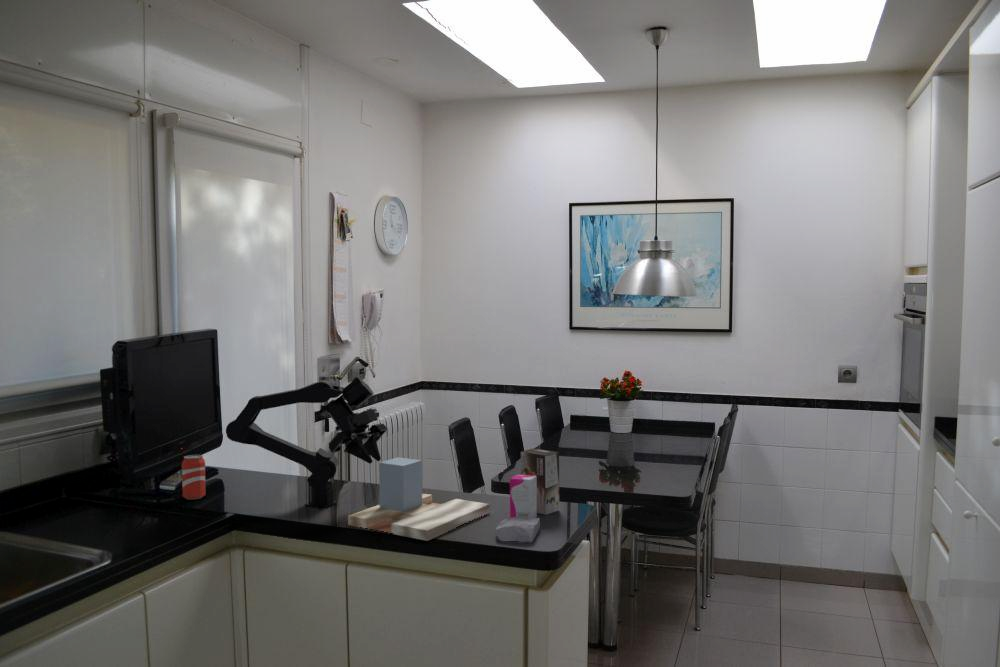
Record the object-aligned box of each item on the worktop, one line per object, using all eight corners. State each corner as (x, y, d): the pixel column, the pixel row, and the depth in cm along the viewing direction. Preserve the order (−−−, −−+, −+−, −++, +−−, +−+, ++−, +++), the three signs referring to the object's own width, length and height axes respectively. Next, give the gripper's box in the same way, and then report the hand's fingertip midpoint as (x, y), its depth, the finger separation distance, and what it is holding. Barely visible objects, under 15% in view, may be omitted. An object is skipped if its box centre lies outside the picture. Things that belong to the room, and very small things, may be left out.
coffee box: (560, 510, 217) (560, 452, 216) (545, 515, 213) (545, 455, 212) (534, 504, 224) (535, 447, 223) (519, 509, 219) (519, 451, 218)
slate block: (379, 507, 211) (379, 462, 210) (398, 500, 218) (398, 457, 217) (403, 511, 207) (403, 465, 206) (422, 504, 214) (421, 460, 213)
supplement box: (537, 518, 210) (537, 475, 209) (530, 524, 204) (530, 480, 204) (516, 516, 212) (516, 473, 211) (509, 522, 206) (509, 478, 206)
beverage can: (197, 493, 236) (196, 453, 235) (210, 497, 232) (209, 456, 231) (178, 498, 231) (177, 456, 230) (191, 501, 227) (190, 459, 226)
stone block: (494, 549, 191) (535, 543, 189) (491, 529, 191) (531, 523, 189) (504, 536, 202) (543, 530, 200) (501, 517, 202) (539, 511, 200)
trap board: (348, 525, 204) (348, 515, 204) (415, 500, 228) (415, 492, 227) (427, 540, 191) (427, 530, 191) (489, 513, 215) (489, 504, 215)
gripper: (336, 402, 210) (369, 448, 205) (381, 394, 226) (413, 437, 221) (314, 429, 215) (346, 475, 210) (360, 420, 231) (391, 462, 225)
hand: (375, 461), depth 216 cm, fingers open, 3 cm apart
